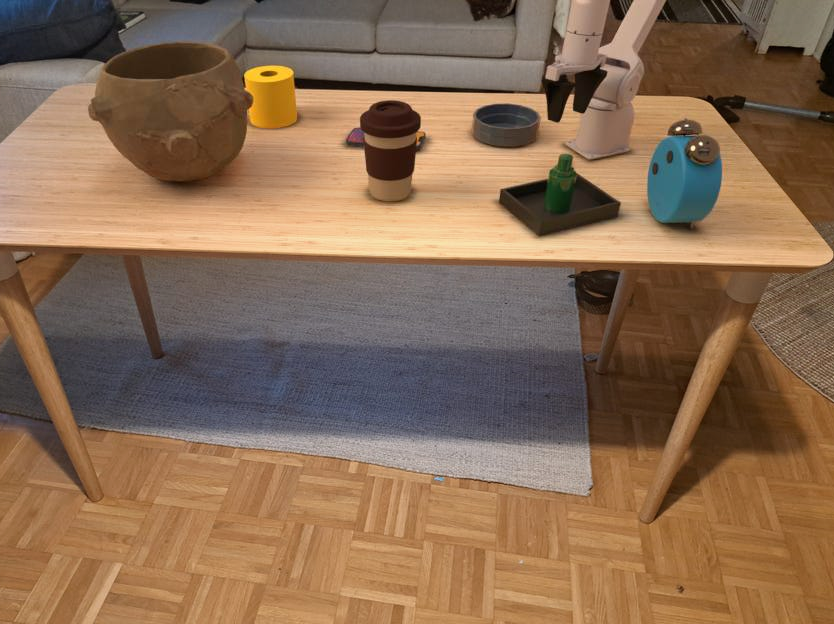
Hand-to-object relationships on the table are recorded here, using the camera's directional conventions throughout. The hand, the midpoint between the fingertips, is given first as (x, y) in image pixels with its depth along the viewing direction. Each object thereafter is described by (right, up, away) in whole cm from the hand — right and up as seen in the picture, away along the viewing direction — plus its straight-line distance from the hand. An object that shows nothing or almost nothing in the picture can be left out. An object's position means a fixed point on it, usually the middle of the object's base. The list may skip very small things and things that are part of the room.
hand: (566, 116), depth 118 cm
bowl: (-68, -7, +9) cm, 69 cm away
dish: (-7, +3, +19) cm, 20 cm away
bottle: (-3, -17, -5) cm, 18 cm away
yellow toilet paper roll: (-55, +9, +27) cm, 62 cm away
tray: (-3, -17, -4) cm, 18 cm away
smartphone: (-31, +1, +17) cm, 35 cm away
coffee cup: (-31, -13, +1) cm, 33 cm away
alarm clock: (+15, -19, -7) cm, 25 cm away
